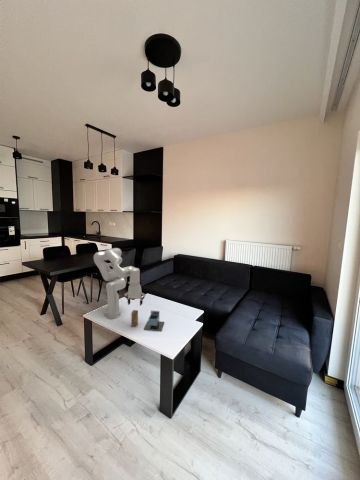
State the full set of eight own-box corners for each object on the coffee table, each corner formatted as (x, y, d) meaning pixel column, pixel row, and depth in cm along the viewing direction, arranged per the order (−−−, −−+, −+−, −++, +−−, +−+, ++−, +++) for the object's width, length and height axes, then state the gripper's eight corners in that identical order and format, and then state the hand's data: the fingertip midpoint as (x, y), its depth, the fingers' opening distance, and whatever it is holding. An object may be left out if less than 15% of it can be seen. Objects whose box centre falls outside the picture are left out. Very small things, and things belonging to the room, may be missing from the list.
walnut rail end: (131, 326, 156) (131, 312, 155) (133, 323, 160) (133, 310, 159) (136, 327, 156) (136, 312, 154) (137, 324, 160) (137, 310, 158)
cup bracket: (143, 329, 152) (143, 315, 151) (147, 321, 164) (148, 308, 162) (161, 331, 150) (161, 316, 149) (164, 323, 162) (164, 309, 161)
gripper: (122, 284, 151) (122, 305, 153) (144, 285, 149) (144, 307, 151) (126, 281, 158) (126, 301, 160) (146, 282, 156) (146, 303, 158)
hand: (135, 304), depth 155 cm, fingers open, 9 cm apart
